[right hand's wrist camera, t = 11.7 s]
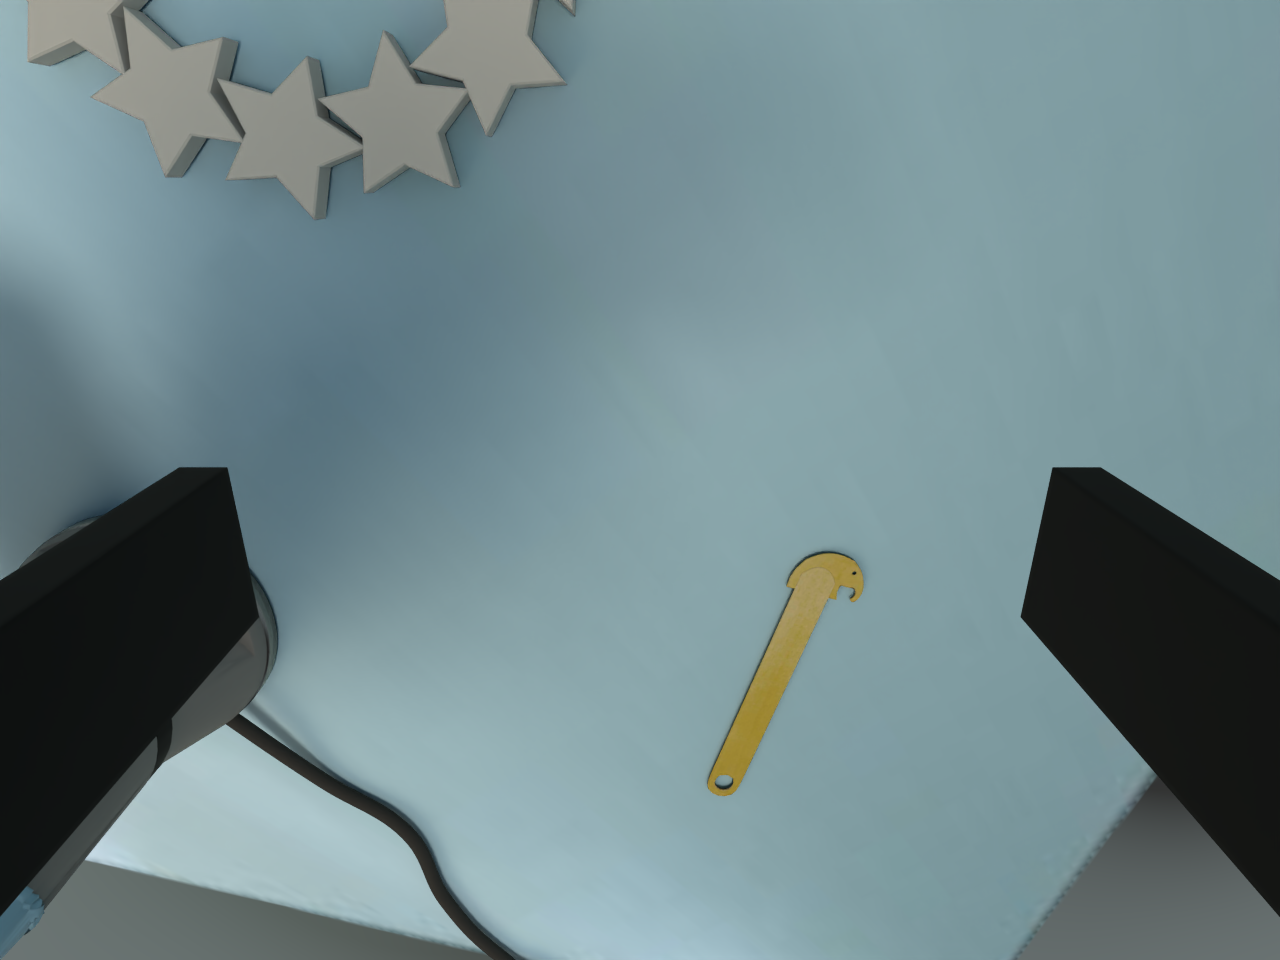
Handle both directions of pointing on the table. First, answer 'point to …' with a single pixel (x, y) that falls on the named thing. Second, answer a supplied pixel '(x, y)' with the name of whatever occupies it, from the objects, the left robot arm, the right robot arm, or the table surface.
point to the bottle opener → (783, 658)
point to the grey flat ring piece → (301, 93)
